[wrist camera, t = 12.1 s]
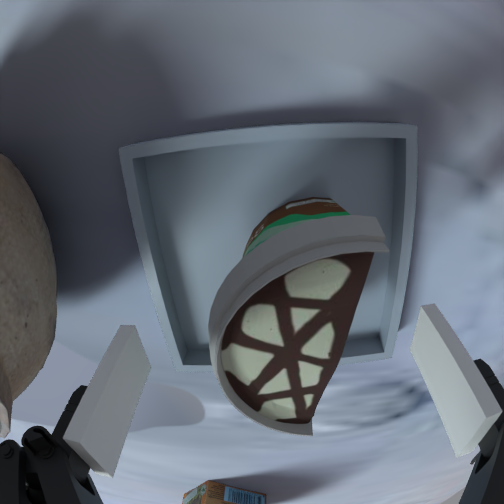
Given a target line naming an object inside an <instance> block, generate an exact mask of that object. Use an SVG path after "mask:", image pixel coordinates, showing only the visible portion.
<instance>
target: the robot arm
mask: <svg viewBox="0 0 504 504" xmlns="http://www.w3.org/2000/svg"><path fill="white" fill-rule="evenodd" d="M410 351H411V353H412V355H413V358H414V360H415V362H416V364H417V366H418V368H419V370H420V372H421V374H422V376H423V379H424V381H425V383H426V385H427V387H428V390H429V392H430V394H431V396H432V399H433V401H434V403H435V405H436V408H437V410H438V412H439V415H440V417H441V420H442V422H443V424H444V427H445V429H446V432H447V434H448V437H449V439H450V442H451V445H452V447H453V450H454V452H455V455H456V458H458V457H461V456H464V455H466V454H469V453H471V452H473V450H474V449H475V448H476V447H477V445H479V447H480V449H481V450H480V452H479V453H478V454H477V455H476V456H475V457H474V459H473V460H472V461H471V463H470V464H473V463H474V462H475V461H476V462H475V464H474V467H473V470H472V473H471V475H470V478H469V480H468V483H467V485H466V488H465V490H464V493H463V495H462V497H461V499H460V502H459V504H504V389H503V387H502V386H501V384H500V383H499V381H498V379H497V377H496V376H495V374H494V373H493V371H492V369H491V368H490V366H489V365H488V364H486V363H485V362H484V361H483V360H481V359H478V360H474V361H473V360H472V358H471V357H470V355H469V353H468V352H467V350H466V349H465V347H464V346H463V344H462V343H461V341H460V340H459V338H458V337H457V335H456V334H455V332H454V331H453V329H452V328H451V326H450V325H449V323H448V322H447V320H446V319H445V318H444V316H443V315H442V313H441V312H440V310H439V309H438V308H437V306H436V305H435V304H429V305H423V306H421V308H420V312H419V316H418V321H417V325H416V329H415V333H414V337H413V341H412V344H411V348H410ZM150 369H151V365H150V363H149V360H148V358H147V355H146V353H145V350H144V348H143V345H142V343H141V340H140V337H139V335H138V332H137V329H136V327H135V325H121V326H120V328H119V329H118V331H117V333H116V335H115V337H114V338H113V340H112V342H111V344H110V346H109V347H108V349H107V351H106V353H105V355H104V357H103V358H102V360H101V362H100V364H99V366H98V368H97V370H96V372H95V374H94V375H93V377H92V380H91V381H90V383H89V385H88V386H83V385H81V386H80V387H79V388H78V389H77V390H76V391H75V392H73V394H72V396H71V398H70V400H69V401H68V404H67V405H66V408H65V411H64V412H63V413H62V415H61V417H60V419H59V421H58V423H57V425H56V427H55V429H54V431H53V433H52V435H51V434H50V433H49V432H48V431H47V429H45V428H44V427H42V426H33V427H31V428H29V429H28V430H27V431H26V432H25V433H24V434H23V437H22V445H23V446H24V447H20V446H19V444H18V443H17V442H15V441H14V440H9V439H8V440H5V441H3V442H2V443H1V444H0V504H103V502H102V500H101V498H100V496H99V494H98V492H97V490H96V487H95V485H94V483H93V481H92V478H91V477H90V475H89V474H88V473H89V470H90V468H91V469H92V470H93V471H94V472H95V473H96V474H98V475H102V476H106V477H110V478H113V476H114V473H115V470H116V467H117V464H118V460H119V457H120V454H121V451H122V448H123V445H124V442H125V439H126V436H127V433H128V430H129V428H130V425H131V422H132V419H133V416H134V413H135V410H136V407H137V405H138V402H139V399H140V396H141V394H142V391H143V388H144V385H145V383H146V380H147V377H148V375H149V372H150Z"/></svg>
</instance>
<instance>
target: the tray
mask: <svg viewBox="0 0 504 504" xmlns="http://www.w3.org/2000/svg"><path fill="white" fill-rule="evenodd" d="M118 151H119V157H120V162H121V168H122V174H123V179H124V184H125V189H126V194H127V199H128V204H129V209H130V214H131V218H132V223H133V227H134V231H135V236H136V240H137V244H138V248H139V252H140V256H141V260H142V264H143V267H144V271H145V275H146V279H147V282H148V286H149V289H150V293H151V296H152V300H153V303H154V307H155V310H156V313H157V317H158V320H159V323H160V326H161V329H162V332H163V336H164V339H165V342H166V345H167V348H168V351H169V354H170V356H171V359H172V362H173V365H174V368H175V371H176V372H214V371H213V367H212V363H211V358H210V348H209V335H208V322H209V316H210V310H211V307H212V304H213V301H214V299H215V296H216V293H217V291H218V289H219V288H220V286H221V285H222V283H223V281H224V280H225V278H226V276H227V275H228V274H229V273H230V271H231V270H232V269H233V268H234V267H235V266H236V265H237V264H238V262H239V261H240V260H241V259H242V257H243V253H244V250H245V247H246V244H247V242H248V240H249V238H250V236H251V233H252V231H253V229H254V228H255V227H256V226H257V225H258V224H259V223H260V222H261V221H262V220H263V219H264V217H265V216H266V215H267V214H268V213H270V212H271V211H273V210H275V209H277V208H279V207H280V206H282V205H284V204H286V203H288V202H290V201H295V200H300V199H305V198H310V197H321V198H331V199H332V200H333V201H335V202H336V203H337V204H338V205H340V206H341V207H342V208H343V209H344V210H346V211H347V212H348V213H349V214H351V215H361V216H373V217H376V218H377V220H378V222H379V224H380V227H381V229H382V231H383V233H384V235H385V240H384V243H385V245H386V246H387V248H388V249H389V253H383V252H374V256H373V259H372V262H371V266H370V269H369V272H368V275H367V278H366V281H365V284H364V288H363V291H362V294H361V297H360V300H359V302H358V305H357V308H356V312H355V315H354V318H353V321H352V324H351V328H350V331H349V334H348V337H347V341H346V344H345V347H344V350H343V353H342V356H341V359H340V361H339V364H338V365H345V364H354V363H362V362H369V361H376V360H383V359H389V358H392V355H393V351H394V347H395V342H396V338H397V333H398V329H399V324H400V319H401V314H402V308H403V303H404V297H405V292H406V285H407V279H408V272H409V265H410V258H411V250H412V241H413V232H414V221H415V209H416V193H417V169H418V126H417V125H410V124H404V123H386V122H314V123H291V124H275V125H262V126H250V127H240V128H231V129H222V130H214V131H206V132H198V133H191V134H185V135H178V136H172V137H166V138H160V139H155V140H149V141H144V142H139V143H134V144H130V145H127V146H124V147H121V148H118Z"/></svg>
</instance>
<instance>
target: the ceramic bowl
mask: <svg viewBox="0 0 504 504" xmlns="http://www.w3.org/2000/svg"><path fill="white" fill-rule="evenodd" d="M56 295H57V271H56V263H55V257H54V252H53V248H52V243H51V238H50V233H49V230H48V227H47V225H46V223H45V220H44V217H43V214H42V212H41V210H40V207H39V205H38V203H37V201H36V198H35V196H34V194H33V192H32V190H31V189H30V187H29V185H28V184H27V182H26V180H25V179H24V177H23V175H22V174H21V172H20V171H19V169H18V168H17V167H16V166H15V165H14V163H13V162H12V161H11V160H10V159H9V158H8V157H6V156H4V155H3V154H1V153H0V437H3V438H5V437H6V436H7V434H8V433H9V432H10V426H11V413H12V403H13V401H14V400H15V399H16V398H17V397H18V396H19V395H20V394H21V393H22V392H23V391H24V390H25V389H26V388H27V387H28V386H29V384H30V383H31V382H32V381H33V380H34V379H35V377H36V376H37V374H38V372H39V371H40V370H41V369H42V368H43V366H44V363H45V361H46V359H47V356H48V355H49V352H50V350H51V347H52V344H53V341H54V338H55V329H56V317H57V305H56Z"/></svg>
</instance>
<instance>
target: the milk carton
mask: <svg viewBox="0 0 504 504" xmlns="http://www.w3.org/2000/svg"><path fill="white" fill-rule="evenodd" d="M182 504H266V494H263V493H258V492H253V491H249V490H244V489H240V488H236V487H232V486H228V485H224V484H220V483H217V482H213V481H209V480H208V481H206V482H204V483H203V484H201V485H199V486H198V487H196V488H194V489H192V490H191V491H189V492H187V493H185V494H184V497H183V503H182Z"/></svg>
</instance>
